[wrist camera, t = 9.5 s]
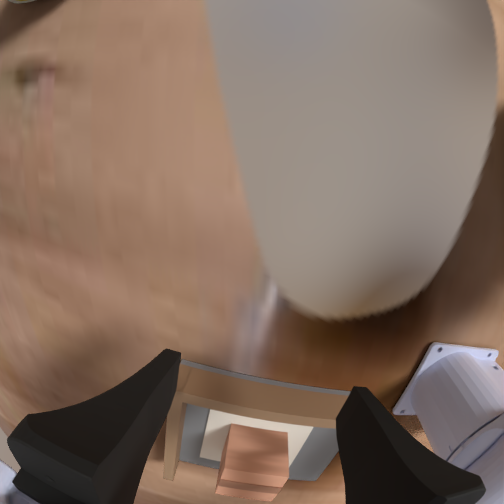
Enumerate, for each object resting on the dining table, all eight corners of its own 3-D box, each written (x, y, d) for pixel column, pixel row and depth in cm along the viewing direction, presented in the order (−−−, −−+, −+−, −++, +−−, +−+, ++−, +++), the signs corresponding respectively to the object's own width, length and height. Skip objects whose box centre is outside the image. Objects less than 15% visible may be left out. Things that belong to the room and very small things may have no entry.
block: (287, 432, 23) (289, 478, 18) (272, 461, 24) (271, 502, 20) (231, 423, 23) (224, 469, 18) (222, 452, 24) (214, 494, 20)
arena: (371, 393, 22) (382, 422, 19) (315, 476, 26) (317, 501, 23) (182, 359, 22) (169, 388, 19) (171, 453, 26) (163, 478, 23)
